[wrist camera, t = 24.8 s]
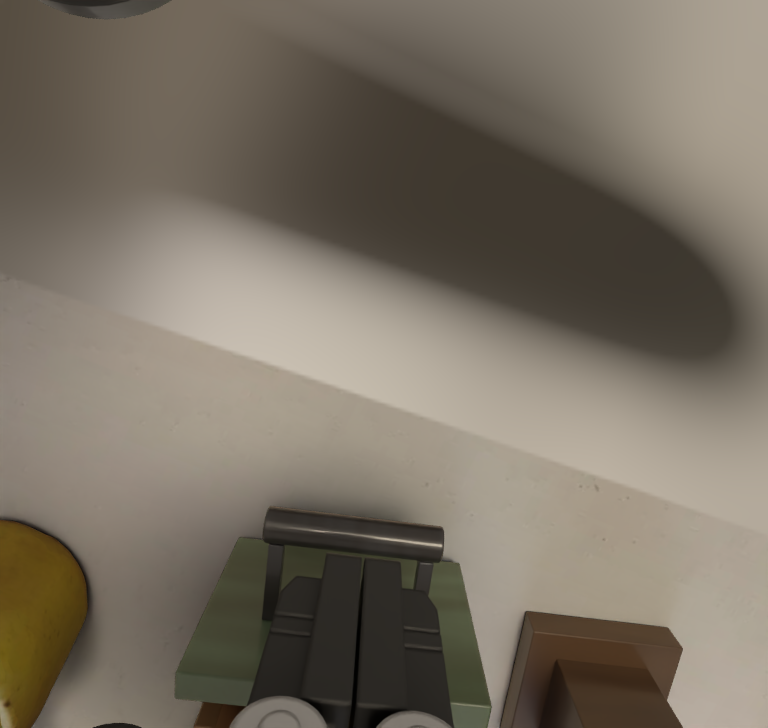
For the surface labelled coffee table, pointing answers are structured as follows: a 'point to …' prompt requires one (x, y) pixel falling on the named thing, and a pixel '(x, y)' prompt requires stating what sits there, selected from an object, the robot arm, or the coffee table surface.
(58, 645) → the mug
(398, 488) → the coffee table surface
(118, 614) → the coffee table surface
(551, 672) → the stand
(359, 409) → the coffee table surface
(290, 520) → the drawer
